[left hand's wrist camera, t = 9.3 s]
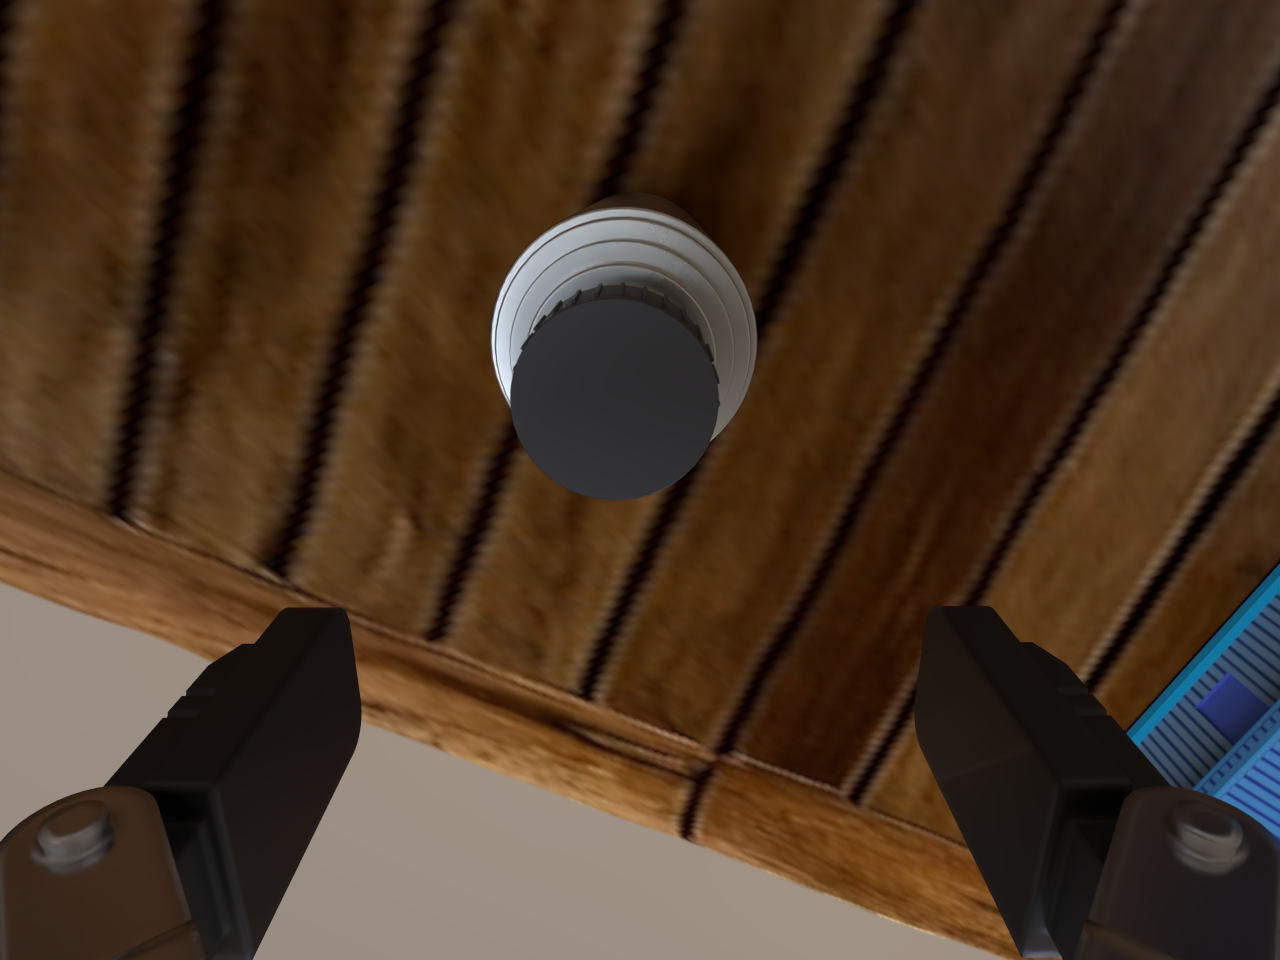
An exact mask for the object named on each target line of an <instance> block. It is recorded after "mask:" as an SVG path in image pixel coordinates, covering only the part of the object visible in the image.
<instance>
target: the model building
mask: <svg viewBox="0 0 1280 960" xmlns="http://www.w3.org/2000/svg"><path fill="white" fill-rule="evenodd" d="M1126 734H1127V735H1128V736H1129V737H1130V738H1131V740H1132V741H1133V742H1134V743H1135V744H1136V745H1137V747H1138V748H1139V749H1140V750H1141V751H1142V752H1143V754H1144V755H1145V756H1146V757H1147V758H1148V759H1149V761H1150V762H1151V763H1152V764H1153V765H1154V766H1155V768H1156V769H1157V770H1158V771H1159V772H1160V773H1161V775H1162V776H1163V777H1164V778H1165V779H1166V780H1167V782H1168V783H1169V784H1170V785H1171V786H1173V787H1181V788H1186V789H1190V790H1195V791H1198V792H1201V793H1204V794H1207V795H1210V796H1213V797H1215V798H1218V799H1220V800H1223V801H1225V802H1227V803H1229V804H1231V805H1233V806H1235V807H1237V808H1238V809H1240V810H1242V811H1243V812H1245V813H1247V814H1248V815H1250V816H1251V817H1253V818H1254V819H1255V820H1257V821H1258V822H1260V823H1261V824H1262V825H1263V826H1264V827H1266V828H1267V829H1268V830H1269V831H1270V832H1271V833H1272V834H1273V835H1274V836H1275V837H1276V838H1277V839H1278V840H1279V842H1280V564H1279V565H1278V566H1277V567H1276V568H1275V569H1274V570H1273V572H1272V573H1271V574H1270V575H1269V576H1268V577H1267V578H1266V579H1265V580H1264V581H1263V583H1262V584H1261V585H1260V586H1259V587H1258V588H1257V589H1256V590H1255V591H1254V593H1253V594H1252V595H1251V596H1250V597H1249V598H1248V599H1247V600H1246V601H1245V602H1244V604H1243V605H1242V606H1241V607H1240V608H1239V609H1238V610H1237V611H1236V612H1235V613H1234V615H1233V616H1232V617H1231V618H1230V619H1229V620H1228V621H1227V622H1226V623H1225V625H1224V626H1223V627H1222V628H1221V629H1220V630H1219V631H1218V632H1217V633H1216V634H1215V636H1214V637H1213V638H1212V639H1211V640H1210V641H1209V642H1208V643H1207V644H1206V646H1205V647H1204V648H1203V649H1202V650H1201V651H1200V652H1199V653H1198V654H1197V655H1196V657H1195V658H1194V659H1193V660H1192V661H1191V662H1190V663H1189V664H1188V665H1187V667H1186V668H1185V669H1184V670H1183V671H1182V672H1181V673H1180V674H1179V675H1178V676H1177V678H1176V679H1175V680H1174V681H1173V682H1172V683H1171V684H1170V685H1169V686H1168V687H1167V689H1166V690H1165V691H1164V692H1163V693H1162V694H1161V695H1160V696H1159V697H1158V699H1157V700H1156V701H1155V702H1154V703H1153V704H1152V705H1151V706H1150V707H1149V708H1148V710H1147V711H1146V712H1145V713H1144V714H1143V715H1142V716H1141V717H1140V718H1139V720H1138V721H1137V722H1136V723H1135V724H1134V725H1133V726H1132V727H1131V728H1130V729H1129V731H1128V732H1127V733H1126Z"/></svg>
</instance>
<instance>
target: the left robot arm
mask: <svg viewBox="0 0 1280 960" xmlns="http://www.w3.org/2000/svg"><path fill="white" fill-rule="evenodd" d="M914 717H915V727H916V733H917V738H918V742H919V745H920V747H921V750H922V752H923V754H924V756H925V758H926V760H927V762H928V764H929V767H930V769H931V771H932V773H933V775H934V777H935V779H936V781H937V783H938V785H939V787H940V789H941V791H942V793H943V796H944V798H945V800H946V802H947V804H948V806H949V808H950V810H951V812H952V814H953V816H954V818H955V820H956V822H957V824H958V827H959V829H960V831H961V833H962V835H963V837H964V839H965V841H966V843H967V845H968V847H969V849H970V851H971V853H972V855H973V858H974V860H975V862H976V864H977V866H978V868H979V870H980V872H981V874H982V876H983V878H984V880H985V882H986V884H987V887H988V889H989V891H990V893H991V895H992V897H993V899H994V901H995V903H996V905H997V907H998V909H999V911H1000V913H1001V915H1002V918H1003V920H1004V922H1005V924H1006V926H1007V928H1008V930H1009V932H1010V934H1011V936H1012V938H1013V940H1014V942H1015V944H1016V946H1017V949H1018V951H1019V953H1020V955H1021V957H1022V958H1062V959H1063V960H1280V842H1279V840H1278V839H1277V838H1276V837H1275V836H1274V835H1273V834H1272V833H1271V832H1270V831H1269V830H1268V829H1267V828H1266V827H1264V826H1263V825H1262V824H1261V823H1260V822H1258V821H1257V820H1255V819H1254V818H1253V817H1251V816H1250V815H1248V814H1247V813H1245V812H1243V811H1242V810H1240V809H1238V808H1237V807H1235V806H1233V805H1231V804H1229V803H1227V802H1225V801H1223V800H1220V799H1218V798H1215V797H1213V796H1210V795H1207V794H1204V793H1201V792H1198V791H1195V790H1190V789H1186V788H1181V787H1173V786H1171V785H1170V784H1169V783H1168V782H1167V780H1166V779H1165V778H1164V777H1163V776H1162V775H1161V773H1160V772H1159V771H1158V770H1157V769H1156V768H1155V766H1154V765H1153V764H1152V763H1151V762H1150V761H1149V759H1148V758H1147V757H1146V756H1145V755H1144V754H1143V752H1142V751H1141V750H1140V749H1139V748H1138V747H1137V745H1136V744H1135V743H1134V742H1133V741H1132V740H1131V738H1130V737H1129V736H1128V735H1127V734H1126V733H1125V731H1124V730H1123V729H1122V728H1121V727H1120V726H1119V725H1118V723H1117V722H1116V721H1115V720H1114V719H1113V718H1112V716H1107V714H1106V709H1105V708H1104V707H1103V706H1102V705H1101V704H1100V702H1099V701H1098V700H1097V699H1096V698H1095V697H1094V695H1093V694H1089V693H1088V688H1087V687H1086V686H1085V685H1084V684H1083V683H1082V681H1081V680H1080V679H1079V678H1078V677H1077V676H1076V674H1075V673H1074V672H1073V671H1072V670H1071V669H1070V667H1069V666H1068V665H1067V664H1066V663H1064V662H1063V661H1061V660H1059V659H1058V658H1056V657H1055V656H1053V655H1052V654H1050V653H1048V652H1047V651H1045V650H1044V649H1042V648H1041V647H1039V646H1037V645H1036V644H1034V643H1033V642H1020V641H1019V640H1018V639H1017V638H1016V636H1015V635H1014V634H1013V633H1012V631H1011V630H1010V629H1009V628H1008V626H1007V625H1006V624H1005V623H1004V621H1003V620H1002V619H1001V618H1000V616H999V615H998V614H997V613H996V611H995V610H994V609H993V608H991V607H989V606H934V607H932V608H931V610H930V611H929V613H928V616H927V619H926V624H925V631H924V639H923V646H922V653H921V660H920V667H919V675H918V682H917V689H916V696H915V706H914ZM360 727H361V699H360V692H359V685H358V678H357V671H356V664H355V657H354V649H353V642H352V635H351V628H350V622H349V618H348V615H347V613H346V612H345V610H344V609H343V608H285V609H283V610H282V611H281V612H280V613H279V614H278V615H277V617H276V618H275V619H274V620H273V622H272V623H271V624H270V625H269V627H268V628H267V629H266V630H265V632H264V633H263V634H262V635H261V636H260V638H259V639H258V640H257V641H256V643H255V644H242V645H240V646H238V647H237V648H235V649H234V650H232V651H230V652H229V653H227V654H226V655H224V656H223V657H221V658H219V659H218V660H216V661H215V662H213V663H212V664H210V665H208V667H207V668H206V669H205V670H204V671H203V672H202V673H201V675H200V676H199V677H198V678H197V679H196V680H195V681H194V683H193V684H192V685H191V686H190V687H189V688H188V690H187V691H186V696H182V697H181V698H180V699H179V700H178V701H177V702H176V703H175V705H174V706H173V707H172V708H171V709H170V710H169V711H168V716H167V718H162V720H161V721H160V722H159V723H158V724H157V725H156V726H155V728H154V729H153V730H152V731H151V732H150V733H149V734H148V736H147V737H146V738H145V739H144V740H143V741H142V743H141V744H140V745H139V746H138V747H137V748H136V749H135V751H134V752H133V753H132V754H131V755H130V756H129V758H128V759H127V760H126V761H125V762H124V763H123V764H122V766H121V767H120V768H119V769H118V770H117V771H116V773H115V774H114V775H113V776H112V777H111V778H110V780H109V781H108V782H107V783H106V784H105V785H104V786H103V787H99V788H94V789H90V790H86V791H82V792H79V793H76V794H73V795H70V796H67V797H65V798H62V799H60V800H57V801H55V802H53V803H51V804H49V805H47V806H45V807H43V808H42V809H40V810H38V811H37V812H35V813H33V814H32V815H30V816H29V817H27V818H26V819H25V820H23V821H22V822H20V823H19V824H18V825H17V826H16V827H14V828H13V829H12V830H11V831H10V832H9V833H8V834H7V835H6V836H5V837H4V838H3V839H2V841H1V842H0V960H252V959H253V957H254V955H255V953H256V951H257V949H258V947H259V945H260V943H261V941H262V939H263V937H264V935H265V933H266V931H267V929H268V927H269V925H270V923H271V921H272V919H273V917H274V915H275V913H276V910H277V908H278V906H279V904H280V902H281V900H282V898H283V896H284V894H285V892H286V890H287V888H288V886H289V884H290V882H291V880H292V878H293V876H294V874H295V872H296V870H297V868H298V866H299V863H300V861H301V859H302V857H303V855H304V853H305V851H306V849H307V847H308V845H309V843H310V841H311V839H312V837H313V835H314V833H315V831H316V829H317V827H318V825H319V822H320V821H321V819H322V816H323V814H324V812H325V810H326V808H327V806H328V804H329V802H330V800H331V798H332V796H333V794H334V792H335V790H336V788H337V786H338V784H339V782H340V780H341V778H342V776H343V774H344V772H345V769H346V767H347V765H348V763H349V761H350V759H351V757H352V755H353V753H354V751H355V748H356V745H357V742H358V738H359V733H360Z"/></svg>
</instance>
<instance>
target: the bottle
mask: <svg viewBox="0 0 1280 960" xmlns="http://www.w3.org/2000/svg"><path fill="white" fill-rule="evenodd" d="M621 282H625V285H627V286H635V287H639V288H643V286H646V287H647V290H649V291H652V292H654V293H657V294H659V295H661V296H664V294H665V295H667V296H668V300H670V301H671V302H672V303H674V304H675V305H676V306H678V307H679V308H680V309H682V308H684V309H685V310H686V313H687V316H688V317H689V318H690V319H691V320H692V322H693V323H694V324H695V325H697V324H698V325H699V326H700V329H701V332H702V336H703V339H704V342H705V344H707V343H708V344H709V346H710V349H711V352H712V355H713V358H714V361H713V362H712V364H714V365H715V368H716V371H717V374H718V377H719V381H720V384H718V392H719V401H720V407H719V409H718V416H717V422H716V426H715V429H714V433H713V435H712V437H711V440H712V439H714V438H715V437H716V436H717V435H718V434H719V433H720V432H721V431H722V430H723V429H724V428H725V426H726V425H727V424H728V423H729V421H730V420H731V419H732V418H733V416H734V415H735V413H736V411H737V410H738V408H739V406H740V405H741V403H742V402H743V399H744V397H745V395H746V393H747V390H748V388H749V386H750V382H751V379H752V376H753V372H754V368H755V362H756V355H757V326H756V317H755V313H754V309H753V305H752V301H751V298H750V296H749V293H748V290H747V288H746V285H745V283H744V281H743V279H742V278H741V276H740V274H739V272H738V270H737V269H736V267H735V266H734V264H733V263H732V262H731V260H730V259H729V258H728V256H727V255H726V254H725V252H724V251H723V250H722V249H721V248H720V247H719V246H718V245H717V244H716V243H715V242H714V241H713V240H712V239H711V238H710V236H709V235H708V234H707V233H706V232H705V231H704V230H703V229H702V228H701V227H700V226H699V225H698V224H697V223H696V222H695V220H694V219H693V218H692V217H691V216H690V215H689V214H688V213H687V212H686V211H685V210H683V209H682V208H681V207H679V206H678V205H677V204H675V203H673V202H671V201H670V200H668V199H665V198H663V197H661V196H658V195H654V194H650V193H643V192H626V193H620V194H616V195H613V196H609V197H607V198H605V199H603V200H600V201H598V202H596V203H594V204H593V205H591V206H589V207H587V208H585V209H583V210H581V211H579V212H577V213H575V214H573V215H571V216H569V217H567V218H566V219H564V220H562V221H560V222H558V223H556V224H555V225H553V226H552V227H550V228H549V229H547V230H545V231H544V232H542V233H541V234H540V235H539V236H538V237H537V238H535V239H534V240H533V241H532V242H531V243H530V244H529V245H528V246H527V247H526V248H525V249H524V250H523V251H522V253H521V254H520V255H519V256H518V257H517V258H516V260H515V261H514V263H513V264H512V266H511V267H510V269H509V271H508V272H507V274H506V276H505V278H504V280H503V282H502V284H501V286H500V288H499V291H498V294H497V297H496V301H495V304H494V307H493V313H492V319H491V327H490V348H491V359H492V363H493V368H494V372H495V376H496V379H497V382H498V384H499V387H500V390H501V392H502V394H503V396H504V398H505V400H506V402H507V404H508V406H509V407H510V409H511V405H510V390H511V382H512V376H513V372H514V371H513V367H514V366H515V364H516V363H517V360H518V358H519V356H520V354H521V352H522V350H521V349H520V348H521V346H522V345H523V343H524V342H525V341H526V339H527V338H528V337H529V335H530V334H531V333H534V332H535V331H534V330H533V328H534V327H535V326H536V324H537V323H538V322H539V320H540V319H541V318H542V317H543V315H546V316H547V315H548V314H549V313H550V312H551V311H552V309H553V308H554V307H555V305H556V304H557V303H558V301H560V300H562V302H563V301H565V300H566V299H568V298H570V297H571V296H573V295H575V293H576V292H577V290H580V289H581V291H584V290H588V289H591V288H594V287H597V286H598V284H601V283H602V284H603V286H606V285H621ZM711 440H710V441H711Z"/></svg>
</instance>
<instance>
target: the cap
mask: <svg viewBox="0 0 1280 960" xmlns="http://www.w3.org/2000/svg"><path fill="white" fill-rule="evenodd" d="M533 330H534V331H535V332H534V333H531V334H530V335H529V337H528V338H527V339H526V341H525V342H524V343H523V345H522V346H521V348H520V349H521V350H522V352H521V354H520V356H519V358H518V360H517V363H516V364H515V366H514V367H513V371H514V372H513V376H512V382H511V390H510V405H511V414H512V419H513V423H514V427H515V429H516V432H517V435H518V438H519V440H520V442H521V443H522V445H523V447H524V449H525V451H526V452H527V454H528V455H529V456H530V458H531V459H532V461H533V462H534V463H535V464H536V465H537V466H538V467H539V468H540V470H542V471H543V472H544V473H545V474H546V475H547V476H548V477H550V478H551V479H552V480H554V481H555V482H557V483H558V484H560V485H561V486H563V487H565V488H567V489H569V490H571V491H573V492H576V493H578V494H581V495H584V496H587V497H592V498H596V499H603V500H629V499H636V498H640V497H644V496H648V495H651V494H653V493H656V492H658V491H661V490H663V489H665V488H666V487H668V486H670V485H672V484H673V483H675V482H676V481H678V480H679V479H680V478H682V477H683V476H684V475H685V474H686V473H687V472H688V471H689V470H690V469H691V468H692V467H693V466H694V465H695V464H696V463H697V461H698V460H699V459H700V458H701V456H702V455H703V453H704V451H705V450H706V448H707V446H708V444H709V442H710V440H711V437H712V435H713V433H714V429H715V426H716V422H717V416H718V409H719V407H720V401H719V392H718V384H720V381H719V377H718V374H717V371H716V368H715V365H714V364H712V362H713V361H714V358H713V355H712V352H711V349H710V346H709V344H708V343H707V344H705V342H704V339H703V336H702V332H701V329H700V326H699V325H698V324H697V325H695V324H694V323H693V322H692V320H691V319H690V318H689V317H688V316H687V313H686V310H685V309H684V308H682V309H680V308H679V307H678V306H676V305H675V304H674V303H672V302H671V301H670V300H668V296H667V295H665V294H664V296H661V295H659V294H657V293H654V292H652V291H649V290H647V287H646V286H643V288H639V287H635V286H627V285H625V282H621V285H606V286H603V284H602V283H601V284H598V286H597V287H594V288H591V289H588V290H584V291H581V289H580V290H577V292H576V293H575V295H573V296H571V297H570V298H568V299H566V300H565V301H563V302H562V300H560V301H558V303H557V304H556V305H555V307H554V308H553V309H552V311H551V312H550V313H549V314H548V315H547V316H546V315H543V317H542V318H541V319H540V320H539V322H538V323H537V324H536V326H535V327H534V328H533Z"/></svg>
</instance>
